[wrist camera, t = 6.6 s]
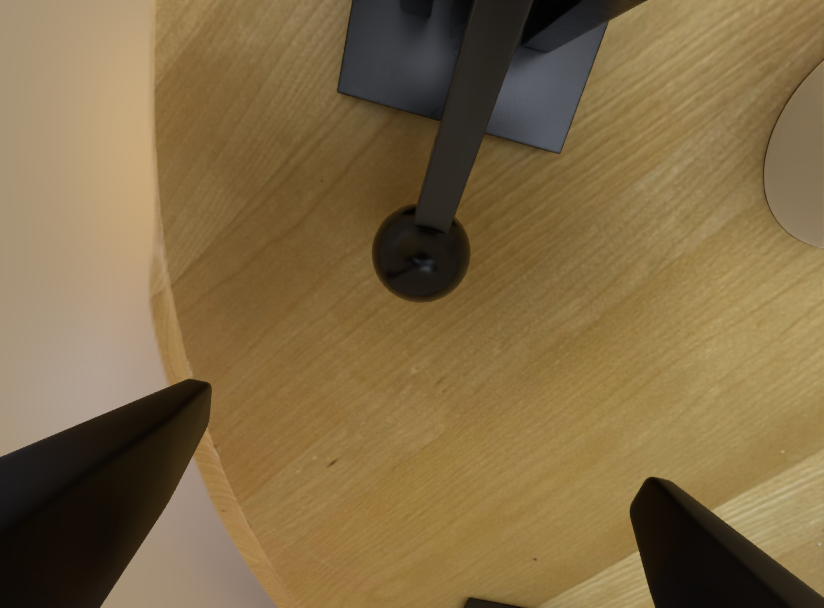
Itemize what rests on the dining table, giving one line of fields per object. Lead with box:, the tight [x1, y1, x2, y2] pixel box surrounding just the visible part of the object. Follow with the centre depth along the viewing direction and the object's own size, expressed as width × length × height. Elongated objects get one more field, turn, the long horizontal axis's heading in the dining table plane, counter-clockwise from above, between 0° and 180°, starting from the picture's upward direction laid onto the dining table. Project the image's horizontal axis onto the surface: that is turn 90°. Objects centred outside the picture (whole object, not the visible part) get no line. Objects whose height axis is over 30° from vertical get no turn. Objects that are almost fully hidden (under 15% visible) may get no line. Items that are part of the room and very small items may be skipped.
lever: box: [372, 0, 533, 303], centre depth 11 cm, size 13×3×3 cm, turn 166°
